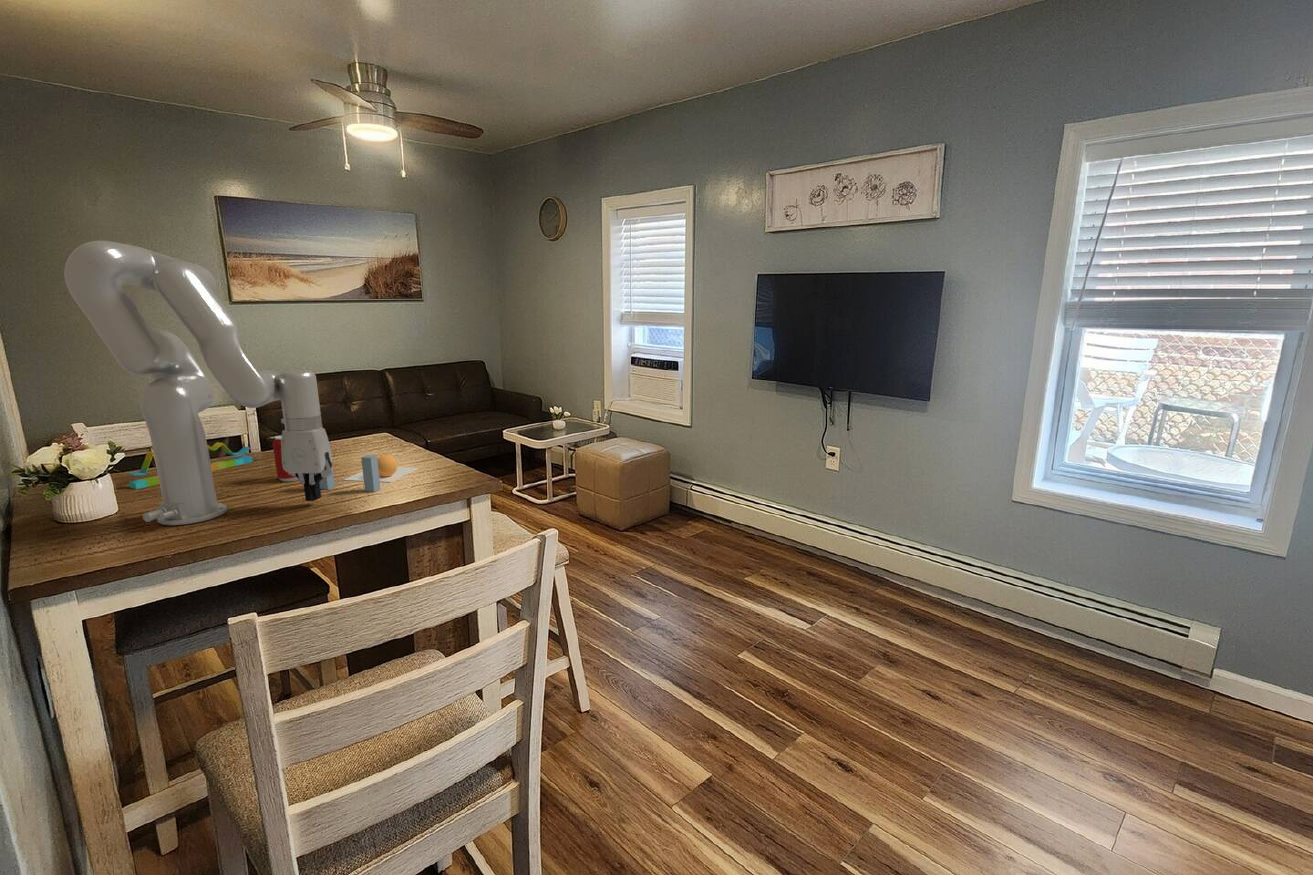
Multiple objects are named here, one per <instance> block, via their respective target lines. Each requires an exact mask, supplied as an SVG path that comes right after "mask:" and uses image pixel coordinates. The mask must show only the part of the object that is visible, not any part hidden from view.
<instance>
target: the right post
mask: <svg viewBox="0 0 1313 875" xmlns="http://www.w3.org/2000/svg"><path fill="white" fill-rule="evenodd" d="M377 458H378V455H376V454H375V455H374V454H366V455H363V456H361V458H360V459H361V467H362V471H363V478H364V481H363V485H364V491H365V492H366V493H367V492H368V493H370V492H371V493H376V492H377V491H379V490H381V482H380V480H379V471H378V461H377Z"/></svg>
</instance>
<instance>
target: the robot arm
mask: <svg viewBox="0 0 1313 875" xmlns="http://www.w3.org/2000/svg"><path fill="white" fill-rule="evenodd" d="M63 273H64V274H63V276H64V282H65V285H66V288H67V290H68V293H69V294H70V296H71V297H72V299H73V300H74V301H75V303H76V305H77V306H78V307H79V308H80V310H81V312H82V313H83V314H84V315H85V317H86V318H87V319H88V322H90V324H91V325H92V326H93V327H92V328H93V329H94V330H95V331H96V333H97V334H98V336H99V338H100V340H102V342H103V343H104V345H105V347H106V348H107V349H108V350H109V352H110V354H111V355H112V357H113V358H114V360H115V361H116V362H117V363H118V365H119V366H120V367H121V368H122V369H123V370H124V371H125V372H127V373H129V374H132V375H135V376H137V375H138V376H146V375H147V376H148V375H150V376H151V377H152V379H153V381H151V382H149V383H148V384H146V386H145V387H144V388H143V389H142V391H141V392H140V395H139V407H140V411H141V414H142V417H143V419H144V422H145V424H146V428H147V430H148V434H149V437H150V443H151V448H152V451H153V453H154V455H153V458H154V461H155V467H156V473H157V476H158V478H159V483H160V484H159V488H160V493H161V499H162V501H161V502H159V503H158V507H157V508H156V509H155V510H151V511H149V512H145V513H143V515H142V519H143V520H144V521H145V522H146V523H150V522H152V521H155V520H157V523H158V524H160V525H165V526H181V525H191V524H196V523H200V522H205V521H208V520H212V519H215V518H217V517H220V516H221V515H222V516H223V515H224V514H225V513H226V512H227V511H228V510H227V509H228V507H227V505H226V504H224V503H223V502H222V503H221V502H218V500H217V499H218V498H217V495H216V494H217V493H216V489H215V488H216V486H215V482H214V477H213V476H214V475H213V471H212V469H211V459H210V458H211V457H210V452H209V450H208V446H209V445H208V443H207V436H206V432H205V429H204V426H203V424H202V421H201V419H200V416H199V413H201V412H203V411H206V410H207V409H208V408H209V407H210V406H211V405H212V403H213V400H214V396H215V392H214V388H213V385H212V383H211V381H210V380H209V378H208V377H207V375H206V373H205V372H204V370H203V369H202V367H201V366H200V364H199V363H198V362H197V360H196V358H195V357H194V355H193V353H191V351H190V349H189V348H188V346H187V345H186V344H185V342H184V341H183V340H182V339H181V338H179V337H178V336H177V334H174V333H172V332H170V331H169V330H166V329H161V328H153V327H152V325H151V324H150V322H148V320H147V318H146V317H145V316H144V315H143V313H142V311H141V309H140V307H139V306H138V305H137V304H136V303H135V301H134V300H133V299H132V298H131V297H130V296H129V295H128V294H127V292H125V290H124V289H123V287H122V285H123V286H134V287H139V288H142V289H145V290H149V291H153V292H156V293H158V294H159V295H160V296H161V298H162V299H163V300H164V301H165V303H166V304H167V306H169V308H170V309H171V310H172V311H173V312H174V314H175V315H176V316H177V317H178V319H179V320H180V321H181V323H182V324H183V325H184V326H185V327H186V330H188V332H189V333H190V334H191V336H192V337H193V338H194V339H195V341H196V344H198V348H199V351H200V353H201V355H202V357H203V360H204V362H205V364H206V366H207V368H208V370H209V371H210V373H211V374H212V376H213V377H214V379H215V380H216V381H217V382H218V384H219V385H220V386H221V387H222V388H223V390H224V391H225V392H226V394H228V396H229V397H230V398H231V399H232V400H233V401H234V402H235V403H237V404H238V405H240V406H242V407H244V408H248V409H249V408H250V409H257V408H260V407H264V406H265V405H268V404H269V403H272V402H276V401H280V402H281V411H282V416H283V418H281V419H280V422H281V424H282V425H284V429H283V430H282V431H281V435H282V437H281V455H282V465H283V469H284V470H285V471H286V472H288V474H289V475H292V476H296V477H297V478H298V479H299V483H300V485H303V491H304V497H305V498H304V499H305V501H306V502H314V501H317V500H319V499H321V498H322V491H321V489H320V483H319V482H321V481H322V479H323V478H324V477H328V476H330V475H332V471H331V468H333V455H332V450H331V443H330V441H329V437H328V434H327V432H326V429H325V428H323V423H322V415H321V414H322V412H321V405H320V397H319V390H318V383H317V382H318V381H317V375H316V373H315V372H314V371H312V370H309V369H292V370H291V369H290V370H285V371H284V370H275V369H274V370H273V369H272V370H271V369H256V368H255V367H254V366H253V364H252V362H251V361H250V360H249V358H248V357H247V356H246V354H245V352H244V351H243V349H242V347H241V344H240V340H239V326H238V322H237V320H236V319H235V318H234V317H233V315H232V314H231V312H230V311H229V310H228V309H227V308H226V306H225V305H224V303H223V302H222V300H220V298H219V297H218V296H217V295H216V292H217V282H216V278H215V277H214V276H213V274H212V272H211V271H209V270H208V269H207V268H206V267H203V266H201V265H199V264H197V263H193V262H189V261H186V260H183V259H179V258H176V257H172V256H169V255H166V254H163V253H161V252H158V251H157V252H156V251H153V250H150V249H148V248H145V247H144V248H143V247H141V246H139V245H137V246H136V245H133V244H127V243H122V242H121V243H120V242H117V241H111V240H92V241H88V242H85V243H83V244H80V245H79V246H76V248H74V250H73V251H72V252H71V253H70V254H69V256H68V258H67V260H66V261H65V265H64V270H63ZM207 445H208V446H207ZM322 471H323V472H322Z"/></svg>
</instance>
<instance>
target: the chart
mask: <svg viewBox="0 0 1313 875" xmlns="http://www.w3.org/2000/svg"><path fill="white" fill-rule="evenodd" d="M207 446H208V451H212V452H213V451H215V452H216V450H219V448H220V447H221V449H223V451H224V452H225V453H226V454H228V455H230V456H238V457H233V458H230V459H229V458H228V459H224V460H221V461H217V462H212V463H211V462H210V463H211V469H212V472H215V471H219V470H222V469H227V468H231V467H235V466H240V465H244V464H249V463H252V462H254V461H253V457H252V455H251V456H249V455H244V454H246V453H247V452H248V451H250V450H251V447H250V446H249V447H248V446H244V447H242V448H241V449H239V451H237V452H232V450H230V449H229V447H228V446H227V445H225V444H224V442H218V441H216V442H215V443H214V444H213V445H212V446H210V445H208V444H207ZM241 455H243V456H241ZM153 458H154V453H153V452H150V451H149V452H147V453H146V455H145V458H144V459H143V460H144V461H143V463H142V465H141V468H140V471H139V472H128V473H127V474H128V475H130V476H145V475H146V474H147V472H148V469H149V467H150V464H151V461H152V459H153ZM128 484H129V488H130V489H133V490H134V489H135V490H138V489H144V488H147V487H150V486H156V485H160V483H159V478H158V475H154V476H148V477H145V478H140V479H136V480H130V481H129V482H128Z"/></svg>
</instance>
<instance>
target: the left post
mask: <svg viewBox="0 0 1313 875" xmlns="http://www.w3.org/2000/svg"><path fill="white" fill-rule="evenodd" d="M331 471H332V475H330V476H328V477H324V478H323V479H322V481H321V482H319V483H320V490H325V491H327V490H328V491H329V490H331V489H333V488H335V487H336V486H335V484H336V483H335V478H334V476H335V475H334V468H333V467H332V468H331ZM322 472H323V471H322Z"/></svg>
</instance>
